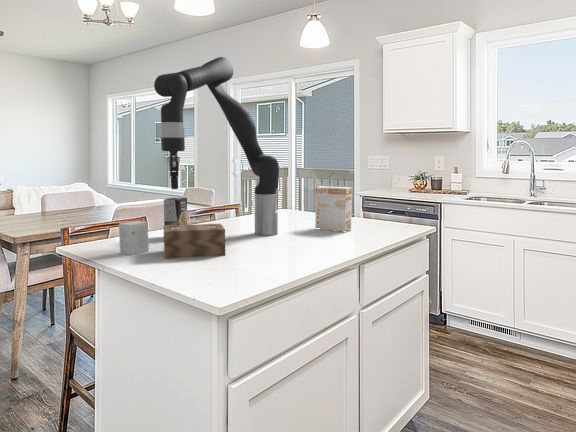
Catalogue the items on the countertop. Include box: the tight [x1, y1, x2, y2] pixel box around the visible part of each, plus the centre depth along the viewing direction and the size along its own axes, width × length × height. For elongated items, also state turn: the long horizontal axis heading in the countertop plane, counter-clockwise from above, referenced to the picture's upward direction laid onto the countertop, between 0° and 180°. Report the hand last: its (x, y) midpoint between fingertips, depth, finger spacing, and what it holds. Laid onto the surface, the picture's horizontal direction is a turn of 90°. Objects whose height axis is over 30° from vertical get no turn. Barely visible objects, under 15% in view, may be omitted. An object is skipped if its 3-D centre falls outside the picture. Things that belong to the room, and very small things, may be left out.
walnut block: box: [163, 223, 226, 259], centre depth 158 cm, size 20×12×9 cm, turn 105°
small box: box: [118, 220, 150, 256], centre depth 159 cm, size 8×6×10 cm
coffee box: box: [163, 197, 189, 227], centre depth 185 cm, size 9×6×16 cm
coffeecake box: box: [314, 185, 353, 232], centre depth 206 cm, size 15×7×20 cm, turn 58°
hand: (174, 188), depth 154 cm, fingers closed
